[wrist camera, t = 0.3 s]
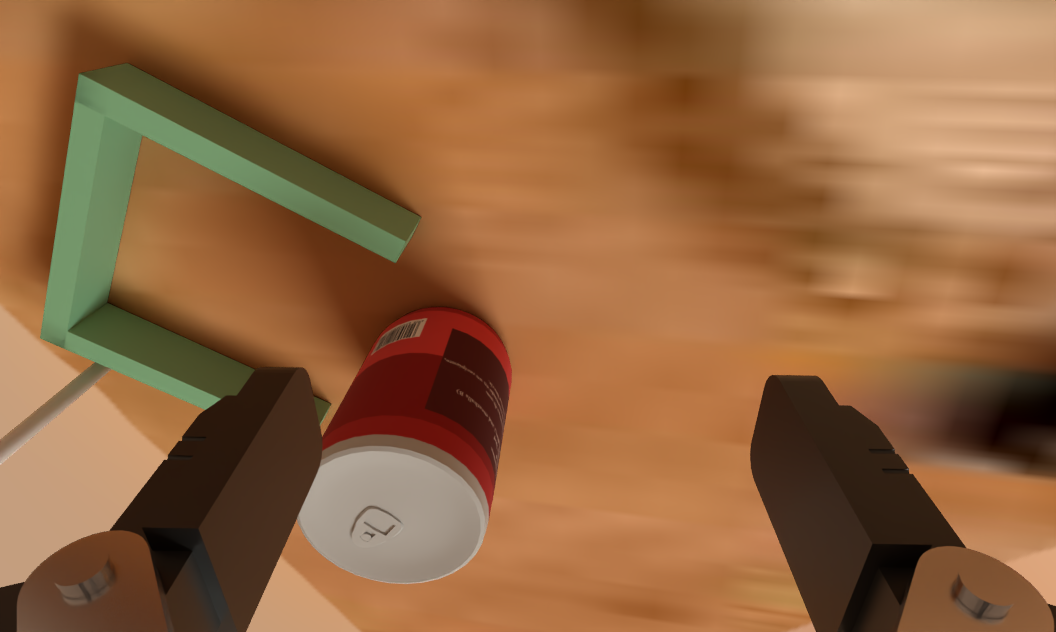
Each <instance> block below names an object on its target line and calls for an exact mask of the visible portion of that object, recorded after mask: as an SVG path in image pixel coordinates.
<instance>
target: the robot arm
mask: <svg viewBox="0 0 1056 632" xmlns="http://www.w3.org/2000/svg"><path fill="white" fill-rule="evenodd" d="M322 447H323V445H322V434H321V429H320V425H319V420H318V415H317V411H316V406H315V401H314V396H313V392H312V387H311V382H310V378H309V375H308V373H307V371H306V370H305V369H304V368H288V367H259V368H257V369H256V370H255V371H254V372H253V373H252V375H251V376H250V378H249V379H248V380H247V382H246V383H245V384H244V386H243V387H242V389H241V390H240V391H239V393H238V394H237V396H235V395H226V396H225V397H223V398H222V399H220V400H219V401H217V402H216V403H215V404H213V405H212V406H210V407H209V408H208V409H206V410H205V411H203V412H202V413H201V414H199V415H198V417H197V418H196V419H195V421H194V422H193V423H192V425H191V426H190V427H189V428H188V430H187V431H186V432H185V434H184V435H183V436H182V441H178V443H177V444H176V445H175V447H174V448H173V449H172V450H171V452H170V453H169V454H168V459H167V460H164V461H163V462H162V464H161V465H160V466H159V467H158V469H157V470H156V471H155V472H154V474H153V475H152V476H151V478H150V479H149V480H148V482H147V483H146V484H145V485H144V487H143V488H142V489H141V491H140V492H139V493H138V494H137V496H136V497H135V498H134V500H133V501H132V502H131V504H130V505H129V506H128V508H127V509H126V510H125V511H124V513H123V514H122V515H121V516H120V518H119V519H118V520H117V522H116V523H115V525H113V527H112V528H111V529H110V531H106V532H101V533H97V534H93V535H90V536H87V537H84V538H81V539H79V540H77V541H75V542H72V543H71V544H69V545H67V546H65V547H63V548H61V549H60V550H58V551H57V552H55V553H54V554H52V555H51V556H50V557H48V558H47V559H46V560H45V561H43V562H42V563H41V564H40V565H39V566H38V567H37V568H36V569H35V570H34V571H33V572H32V574H31V575H30V576H29V577H28V578H27V580H26V581H25V582H23V583H18V584H14V585H10V586H5V587H1V588H0V632H246V630H247V628H248V626H249V624H250V622H251V619H252V617H253V615H254V613H255V610H256V608H257V606H258V604H259V601H260V599H261V597H262V595H263V593H264V590H265V588H266V586H267V584H268V582H269V579H270V577H271V575H272V573H273V570H274V568H275V566H276V564H277V562H278V559H279V557H280V555H281V553H282V550H283V548H284V546H285V544H286V542H287V539H288V537H289V535H290V533H291V530H292V528H293V526H294V524H295V522H296V519H297V517H298V515H299V513H300V510H301V508H302V506H303V504H304V502H305V499H306V497H307V495H308V493H309V490H310V488H311V486H312V484H313V482H314V479H315V477H316V475H317V473H318V470H319V467H320V463H321V458H322ZM750 460H751V469H752V474H753V478H754V481H755V483H756V486H757V488H758V491H759V493H760V496H761V498H762V501H763V503H764V505H765V508H766V510H767V513H768V515H769V518H770V520H771V523H772V525H773V528H774V530H775V532H776V535H777V537H778V540H779V542H780V545H781V547H782V550H783V552H784V554H785V557H786V559H787V562H788V564H789V567H790V569H791V572H792V574H793V576H794V579H795V581H796V584H797V586H798V589H799V591H800V594H801V596H802V599H803V601H804V603H805V606H806V608H807V611H808V613H809V616H810V618H811V621H812V623H813V625H814V628H815V630H816V632H1056V606H1053V605H1050V604H1047V603H1046V601H1045V599H1044V598H1043V597H1042V596H1041V594H1040V593H1039V592H1038V591H1037V589H1036V588H1035V587H1034V586H1033V585H1032V584H1031V583H1030V582H1028V581H1027V580H1026V579H1025V578H1024V577H1023V576H1022V575H1020V574H1019V573H1018V572H1016V571H1015V570H1013V569H1012V568H1010V567H1009V566H1007V565H1006V564H1004V563H1002V562H1000V561H999V560H996V559H994V558H992V557H990V556H988V555H986V554H983V553H980V552H978V551H974V550H971V549H967V548H966V547H965V545H964V544H963V543H962V541H961V540H960V539H959V537H958V536H957V534H956V533H955V532H954V530H953V529H952V528H951V526H950V525H949V523H948V522H947V521H946V519H945V518H944V517H943V515H942V514H941V512H940V511H939V510H938V508H937V507H936V506H935V504H934V503H933V501H932V500H931V499H930V497H929V496H928V494H927V493H926V492H925V490H924V489H923V488H922V486H921V485H920V483H919V482H918V481H917V479H916V478H915V477H914V475H913V474H909V468H908V467H907V466H906V464H905V463H904V461H903V460H902V459H901V457H900V456H899V455H898V454H895V449H894V448H893V446H892V445H891V444H890V442H889V441H888V439H887V438H886V437H885V435H884V434H883V433H882V431H881V430H880V428H879V427H878V426H877V425H876V424H874V423H873V422H872V421H870V420H869V419H868V418H866V417H865V416H864V415H862V414H861V413H860V412H858V411H857V410H856V409H854V408H853V407H852V406H839V405H838V403H837V402H836V400H835V399H834V397H833V396H832V394H831V393H830V391H829V390H828V388H827V387H826V385H825V384H824V382H823V381H822V380H821V379H820V378H819V377H818V376H794V375H771V376H770V377H769V378H768V379H767V381H766V383H765V387H764V391H763V395H762V400H761V404H760V408H759V413H758V417H757V421H756V425H755V430H754V434H753V438H752V443H751V451H750Z"/></svg>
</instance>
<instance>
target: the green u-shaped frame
mask: <svg viewBox="0 0 1056 632" xmlns="http://www.w3.org/2000/svg"><path fill="white" fill-rule="evenodd" d="M142 135H143V136H145V137H147V138H149V139H151V140H153V141H155V142H157V143H159V144H161V145H163V146H165V147H167V148H169V149H171V150H173V151H175V152H177V153H179V154H181V155H183V156H185V157H187V158H189V159H191V160H193V161H195V162H197V163H199V164H201V165H203V166H204V167H206V168H208V169H210V170H212V171H214V172H216V173H218V174H220V175H222V176H224V177H226V178H228V179H230V180H232V181H234V182H236V183H238V184H240V185H242V186H244V187H246V188H248V189H250V190H252V191H254V192H256V193H258V194H260V195H262V196H264V197H266V198H268V199H270V200H272V201H274V202H276V203H278V204H280V205H282V206H283V207H285V208H287V209H289V210H291V211H293V212H295V213H297V214H299V215H301V216H303V217H305V218H307V219H309V220H311V221H313V222H315V223H317V224H319V225H321V226H323V227H325V228H327V229H329V230H331V231H333V232H335V233H337V234H339V235H341V236H343V237H345V238H347V239H349V240H351V241H353V242H355V243H357V244H359V245H361V246H362V247H364V248H366V249H368V250H370V251H372V252H374V253H376V254H378V255H380V256H382V257H384V258H386V259H388V260H390V261H392V262H394V263H396V262H397V260H398V259H399V257H400V255H401V254H402V252H403V251H404V249H405V247H406V246H407V244H408V242H409V241H410V239H411V238H412V236H413V234H414V231H415V229H416V227H417V225H418V223H419V221H420V219H421V217H420V216H418V215H416V214H414V213H412V212H410V211H408V210H406V209H404V208H403V207H401V206H399V205H397V204H395V203H393V202H391V201H389V200H387V199H385V198H384V197H382V196H380V195H378V194H376V193H374V192H372V191H370V190H368V189H366V188H364V187H363V186H361V185H359V184H357V183H355V182H353V181H351V180H349V179H347V178H345V177H344V176H342V175H340V174H338V173H336V172H334V171H332V170H330V169H328V168H326V167H325V166H323V165H321V164H319V163H317V162H315V161H313V160H311V159H309V158H307V157H305V156H304V155H302V154H300V153H298V152H296V151H294V150H292V149H290V148H288V147H286V146H285V145H283V144H281V143H279V142H277V141H275V140H273V139H271V138H269V137H267V136H266V135H264V134H262V133H260V132H258V131H256V130H254V129H252V128H250V127H248V126H246V125H245V124H243V123H241V122H239V121H237V120H235V119H233V118H231V117H229V116H227V115H226V114H224V113H222V112H220V111H218V110H216V109H214V108H212V107H210V106H208V105H206V104H205V103H203V102H201V101H199V100H197V99H195V98H193V97H191V96H189V95H187V94H186V93H184V92H182V91H180V90H178V89H176V88H174V87H172V86H170V85H168V84H167V83H165V82H163V81H161V80H159V79H157V78H155V77H153V76H151V75H149V74H147V73H146V72H144V71H142V70H140V69H138V68H136V67H134V66H132V65H130V64H128V63H125V64H120V65H115V66H111V67H106V68H102V69H97V70H92V71H88V72H83V73H79V77H78V83H77V90H76V97H75V104H74V111H73V118H72V124H71V131H70V138H69V145H68V152H67V158H66V165H65V172H64V179H63V186H62V193H61V199H60V206H59V213H58V220H57V227H56V233H55V240H54V247H53V254H52V261H51V268H50V274H49V281H48V288H47V295H46V302H45V309H44V315H43V322H42V329H41V336H40V338H41V339H43V340H45V341H48V342H50V343H52V344H55V345H57V346H59V347H62V348H64V349H66V350H68V351H71V352H73V353H75V354H78V355H80V356H82V357H85V358H87V359H89V360H92V361H94V362H95V363H94V364H92V365H91V366H90V367H89V368H87V369H86V370H85V371H84V372H82V373H81V374H80V375H79V376H78V377H76V378H75V379H74V380H73V381H72V382H70V383H69V384H68V385H67V386H65V387H64V388H63V389H62V390H61V391H59V392H58V393H57V394H56V395H54V396H53V397H52V398H51V399H49V400H48V401H47V402H46V403H45V404H43V405H42V406H41V407H40V408H39V409H37V410H36V411H35V412H34V413H32V414H31V415H30V416H29V417H27V418H26V419H25V420H24V421H23V422H21V423H20V424H19V425H18V426H16V427H15V428H14V429H13V430H12V431H10V432H9V433H8V434H7V435H5V436H4V437H3V438H2V439H1V440H0V465H1V464H2V463H3V462H4V461H6V460H7V459H8V458H9V457H10V456H11V455H12V454H14V453H15V452H16V451H17V450H18V449H19V448H21V447H22V446H23V445H24V444H25V443H26V442H28V441H29V440H30V439H31V438H32V437H33V436H35V435H36V434H37V433H38V432H39V431H40V430H42V429H43V428H44V427H45V426H46V425H47V424H49V423H50V422H51V421H52V420H53V419H54V418H55V417H57V416H58V415H59V414H60V413H61V412H62V411H64V410H65V409H66V408H67V407H68V406H69V405H71V404H72V403H73V402H74V401H75V400H76V399H77V398H79V397H80V396H81V395H82V394H83V393H85V392H86V391H87V390H88V389H89V388H90V387H92V386H93V385H94V384H95V383H96V382H97V381H99V380H100V379H101V378H102V377H103V376H104V375H105V374H107V373H108V372H109V371H110V370H111V369H112V370H115V371H117V372H119V373H122V374H124V375H126V376H128V377H131V378H133V379H135V380H138V381H140V382H142V383H145V384H147V385H149V386H152V387H154V388H156V389H158V390H161V391H163V392H165V393H168V394H170V395H172V396H175V397H177V398H179V399H182V400H184V401H186V402H188V403H191V404H193V405H195V406H198V407H200V408H202V409H205V410H206V409H208V408H209V407H210V406H212V405H213V404H215V403H216V402H217V401H219V400H220V399H222V398H223V397H225V396H226V395H235V396H237V394H238V393H239V391H240V390H241V389H242V387H243V386H244V384H245V383H246V382H247V380H248V379H249V378H250V376H251V375H252V373H253V372H254V371H255V369H253V368H250V367H248V366H246V365H244V364H242V363H239V362H237V361H235V360H233V359H230V358H228V357H226V356H224V355H222V354H219V353H217V352H215V351H213V350H211V349H208V348H206V347H204V346H202V345H200V344H197V343H195V342H193V341H191V340H188V339H186V338H184V337H182V336H180V335H177V334H175V333H173V332H171V331H169V330H166V329H164V328H162V327H160V326H157V325H155V324H153V323H151V322H149V321H146V320H144V319H142V318H140V317H138V316H135V315H133V314H131V313H129V312H127V311H124V310H122V309H120V308H118V307H115V306H113V305H111V304H109V303H107V302H108V297H109V292H110V287H111V282H112V278H113V273H114V268H115V263H116V258H117V254H118V249H119V244H120V239H121V234H122V230H123V225H124V220H125V215H126V211H127V206H128V201H129V196H130V191H131V187H132V182H133V177H134V172H135V167H136V163H137V158H138V153H139V148H140V143H141V139H142ZM314 401H315V406H316V411H317V415H318V420H319V425H321V423H322V421H323V420H324V418H325V416H326V414H327V412H328V410H329V408H330V406H331V404H330V403H328V402H326V401H323V400H321V399H319V398H317V397H315V396H314Z"/></svg>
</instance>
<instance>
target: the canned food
mask: <svg viewBox="0 0 1056 632" xmlns="http://www.w3.org/2000/svg"><path fill="white" fill-rule="evenodd" d="M511 376H512V369H511V365H510V361H509V357H508V354H507V351H506V349H505V347H504V345H503V343H502V341H501V339H500V338H499V336H498V335H497V334H496V333H495V331H494V330H493V329H492V328H491V327H490V326H488V325H487V324H486V323H485V322H484V321H482V320H481V319H479V318H477V317H476V316H474V315H472V314H469V313H467V312H464V311H461V310H458V309H453V308H447V307H430V308H424V309H419V310H416V311H413V312H411V313H408V314H406V315H405V316H403V317H401V318H400V319H398V320H396V321H395V322H393V323H392V324H390V325H389V326H388V327H387V328H386V329H385V330H384V331H383V332H382V333H381V334H380V335H379V337H378V339H377V340H376V342H375V343H374V345H373V347H372V348H371V350H370V352H369V354H368V356H367V357H366V359H365V361H364V363H363V365H362V366H361V368H360V370H359V372H358V374H357V375H356V377H355V379H354V381H353V383H352V385H351V386H350V388H349V390H348V392H347V394H346V395H345V397H344V399H343V401H342V403H341V404H340V406H339V408H338V410H337V412H336V413H335V415H334V417H333V419H332V421H331V422H330V424H329V426H328V428H327V430H326V431H325V433H324V435H323V437H322V445H323V447H322V458H321V463H320V467H319V470H318V473H317V475H316V477H315V479H314V482H313V484H312V486H311V488H310V490H309V493H308V495H307V497H306V499H305V502H304V504H303V506H302V508H301V510H300V513H299V515H298V517H297V521H298V524H299V526H300V528H301V530H302V532H303V534H304V536H305V537H306V538H307V540H308V541H309V542H310V543H311V545H312V546H313V547H314V548H315V549H316V550H317V551H318V552H319V553H320V554H321V555H323V556H324V557H325V558H326V559H328V560H329V561H331V562H332V563H334V564H335V565H337V566H338V567H340V568H342V569H344V570H346V571H349V572H351V573H353V574H355V575H358V576H361V577H364V578H368V579H371V580H375V581H381V582H386V583H399V584H411V583H423V582H427V581H432V580H436V579H440V578H442V577H445V576H447V575H449V574H452V573H454V572H455V571H457V570H459V569H460V568H462V567H463V566H465V565H466V564H467V563H468V562H469V561H470V560H471V559H472V558H473V557H474V556H475V555H476V553H477V551H478V550H479V548H480V546H481V544H482V542H483V538H484V535H485V532H486V529H487V525H488V521H489V516H490V510H491V504H492V500H493V495H494V488H495V482H496V476H497V469H498V463H499V457H500V450H501V444H502V438H503V432H504V425H505V419H506V413H507V406H508V400H509V394H510V387H511Z"/></svg>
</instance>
